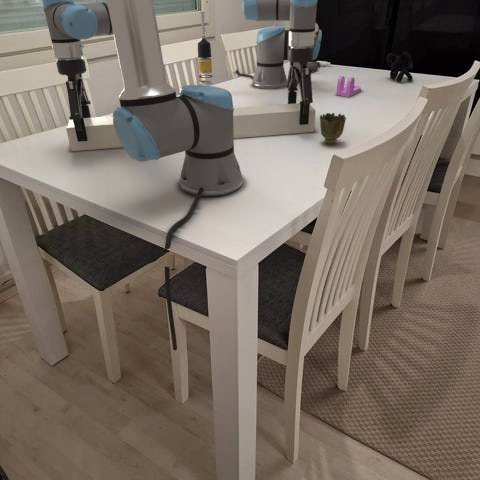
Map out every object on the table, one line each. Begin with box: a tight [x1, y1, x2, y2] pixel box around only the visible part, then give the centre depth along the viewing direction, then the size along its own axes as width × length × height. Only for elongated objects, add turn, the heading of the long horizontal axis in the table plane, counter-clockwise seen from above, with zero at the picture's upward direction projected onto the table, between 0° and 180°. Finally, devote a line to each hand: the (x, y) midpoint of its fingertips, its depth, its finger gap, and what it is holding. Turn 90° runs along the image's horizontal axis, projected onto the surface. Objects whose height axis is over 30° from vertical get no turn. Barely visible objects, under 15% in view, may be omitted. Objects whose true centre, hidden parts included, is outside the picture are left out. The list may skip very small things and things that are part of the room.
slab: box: [65, 102, 317, 152], centre depth 138 cm, size 75×9×7 cm, turn 101°
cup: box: [319, 112, 347, 145], centre depth 131 cm, size 8×7×8 cm
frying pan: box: [307, 60, 331, 73], centre depth 223 cm, size 3×11×24 cm
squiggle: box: [385, 51, 414, 83], centre depth 198 cm, size 11×10×15 cm
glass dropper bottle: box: [197, 11, 214, 86], centre depth 181 cm, size 6×6×30 cm
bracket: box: [335, 75, 362, 98], centre depth 181 cm, size 13×6×7 cm, turn 143°
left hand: (85, 133), depth 133 cm, fingers open, 13 cm apart
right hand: (297, 118), depth 143 cm, fingers open, 13 cm apart
